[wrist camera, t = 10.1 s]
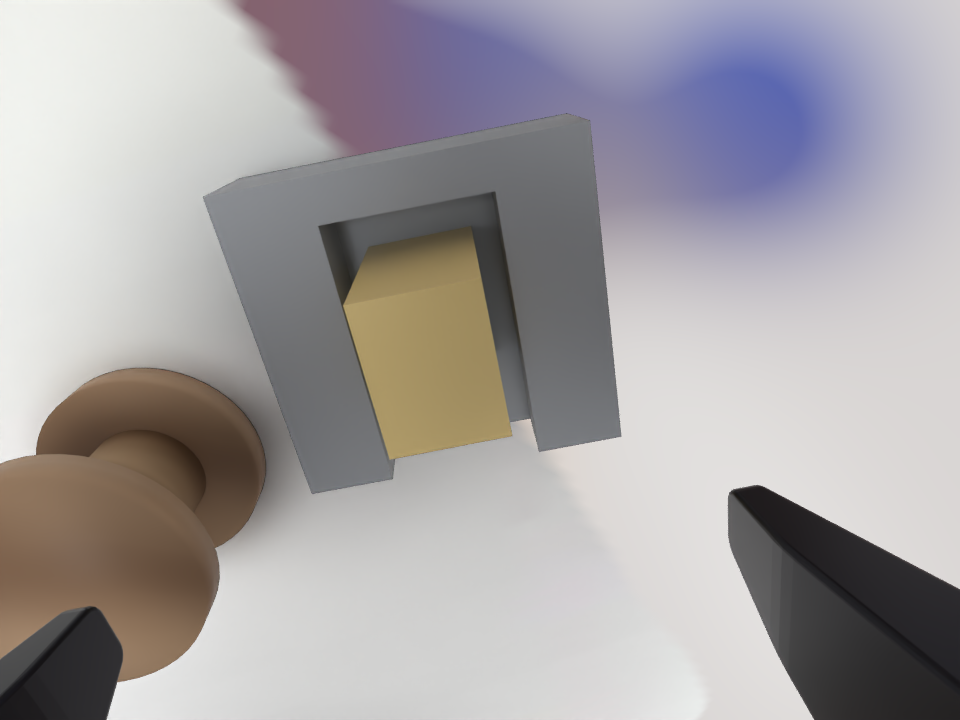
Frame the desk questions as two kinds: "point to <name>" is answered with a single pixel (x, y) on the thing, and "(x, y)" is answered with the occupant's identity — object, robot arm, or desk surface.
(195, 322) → the desk surface
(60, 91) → the desk surface
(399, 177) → the notch board
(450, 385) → the tan tab
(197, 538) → the bobbin
